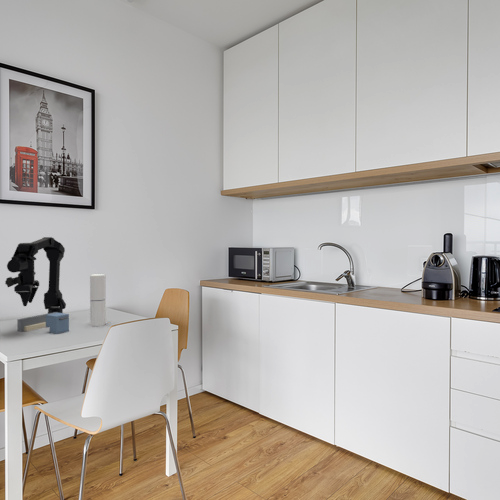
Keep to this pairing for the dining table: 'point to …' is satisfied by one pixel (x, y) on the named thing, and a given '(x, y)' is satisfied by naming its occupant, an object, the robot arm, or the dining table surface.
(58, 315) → the blue block
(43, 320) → the wall board
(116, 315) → the dining table surface
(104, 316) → the cylindrical container
